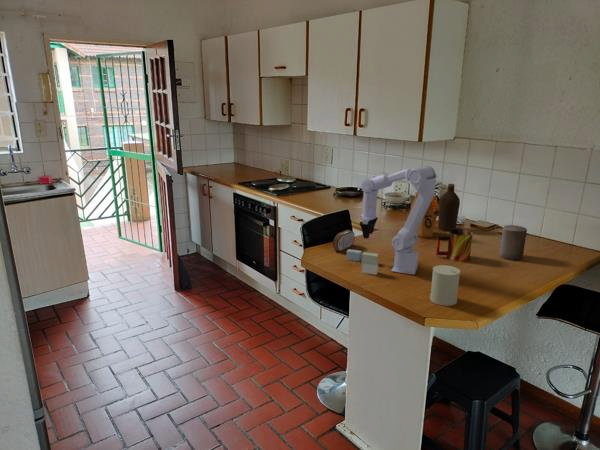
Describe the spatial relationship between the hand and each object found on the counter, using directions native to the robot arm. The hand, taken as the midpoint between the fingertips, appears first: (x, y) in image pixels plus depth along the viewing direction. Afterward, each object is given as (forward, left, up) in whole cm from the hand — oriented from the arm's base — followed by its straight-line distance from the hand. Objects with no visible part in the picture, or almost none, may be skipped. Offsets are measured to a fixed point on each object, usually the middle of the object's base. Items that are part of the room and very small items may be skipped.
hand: (368, 235), depth 192 cm
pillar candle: (-60, -27, -11) cm, 67 cm away
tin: (+13, -8, -11) cm, 19 cm away
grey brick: (-5, +16, -10) cm, 20 cm away
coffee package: (-18, -45, -11) cm, 50 cm away
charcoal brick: (-2, +6, -11) cm, 12 cm away
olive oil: (-30, -61, -11) cm, 69 cm away
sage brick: (-5, +16, -6) cm, 18 cm away
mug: (-36, -15, -11) cm, 41 cm away
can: (-35, +31, -11) cm, 48 cm away
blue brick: (+5, +4, -11) cm, 12 cm away
